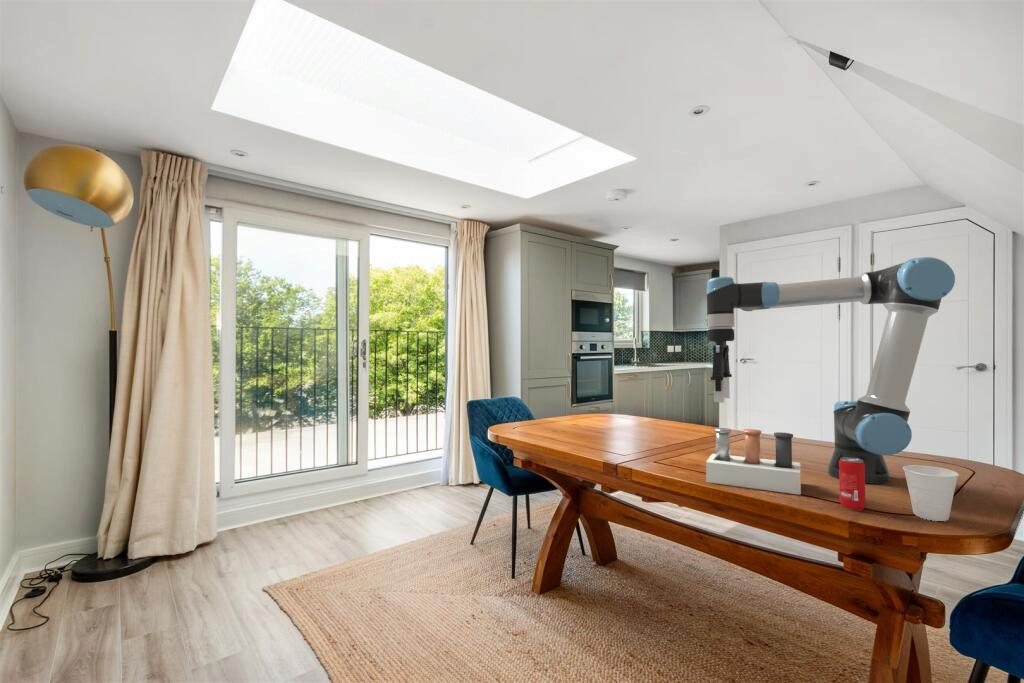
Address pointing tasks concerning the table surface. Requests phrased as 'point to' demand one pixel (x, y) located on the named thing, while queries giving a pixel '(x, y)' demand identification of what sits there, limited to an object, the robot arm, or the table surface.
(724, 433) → the plug grey
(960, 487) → the table surface
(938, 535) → the table surface
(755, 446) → the plug rust
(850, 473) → the beverage can
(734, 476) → the socket board
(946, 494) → the cup
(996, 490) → the table surface
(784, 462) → the plug black
